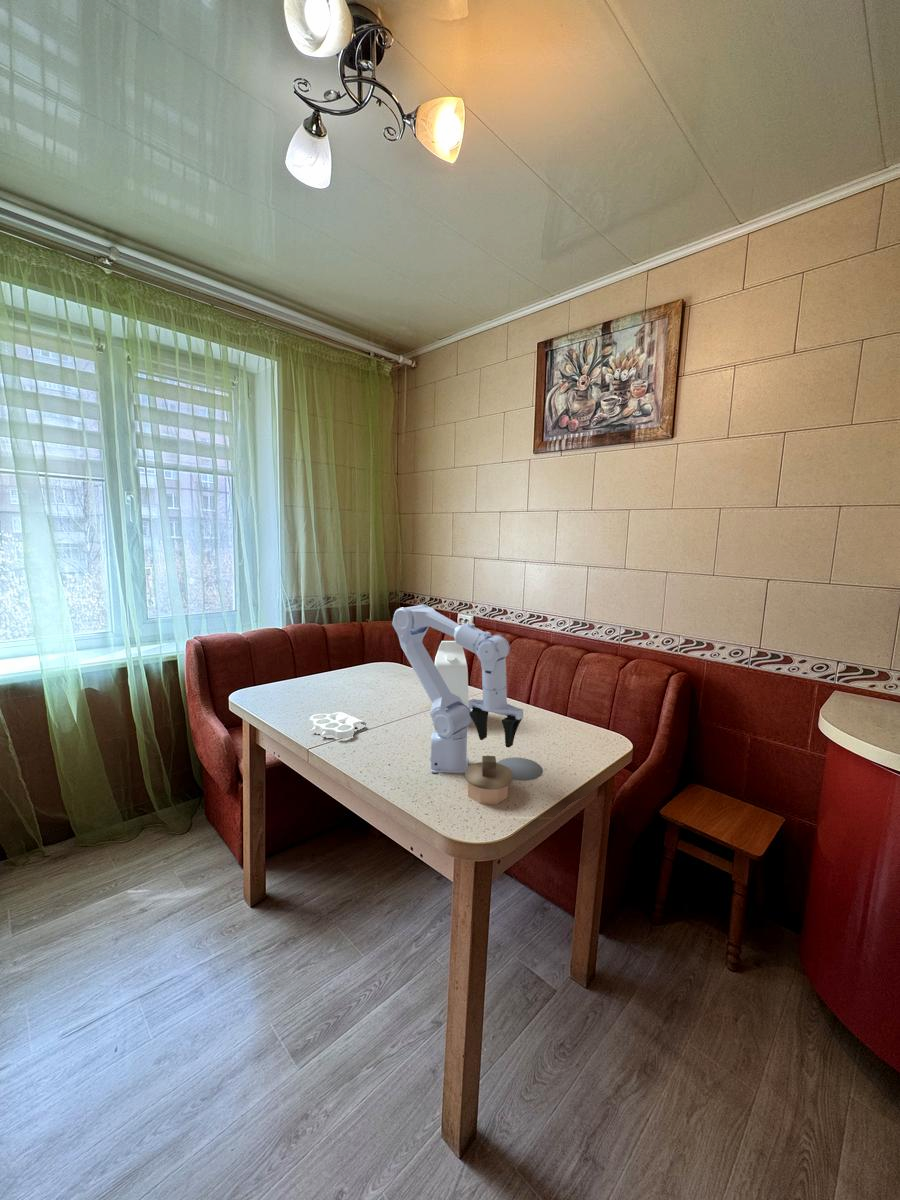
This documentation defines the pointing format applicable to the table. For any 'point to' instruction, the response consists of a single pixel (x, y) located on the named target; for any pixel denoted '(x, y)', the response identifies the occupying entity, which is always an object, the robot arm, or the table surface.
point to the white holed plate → (335, 724)
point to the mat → (522, 768)
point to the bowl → (487, 794)
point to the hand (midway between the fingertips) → (496, 742)
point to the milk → (453, 669)
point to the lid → (488, 774)
